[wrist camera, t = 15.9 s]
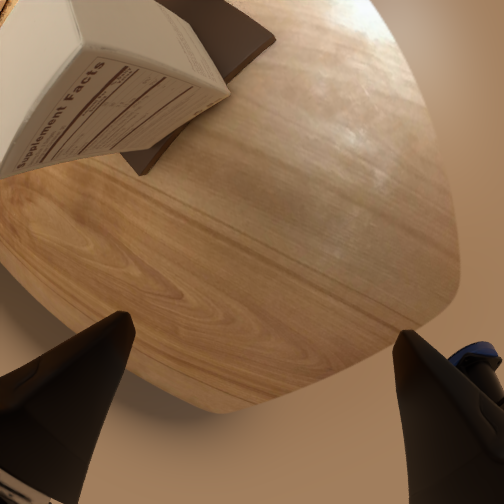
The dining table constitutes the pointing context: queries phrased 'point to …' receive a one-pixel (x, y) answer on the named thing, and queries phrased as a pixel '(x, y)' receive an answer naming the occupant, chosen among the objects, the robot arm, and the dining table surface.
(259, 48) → the board
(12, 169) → the white packaging box
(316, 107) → the dining table surface
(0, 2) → the bowl
